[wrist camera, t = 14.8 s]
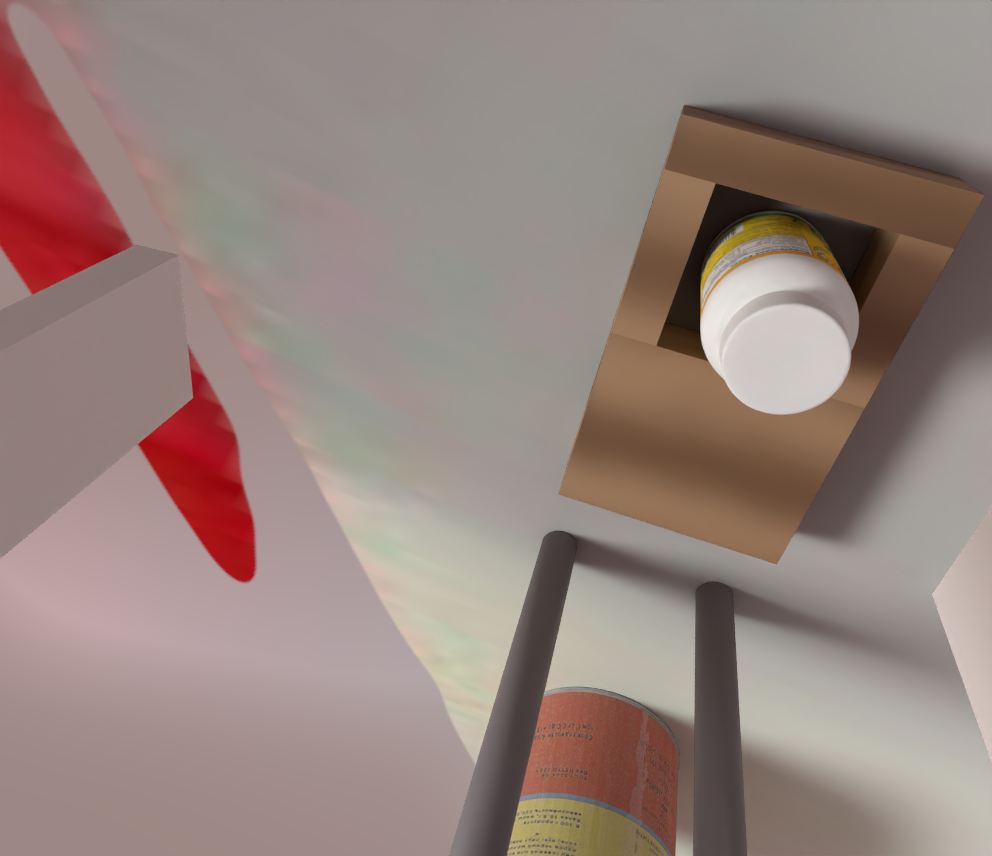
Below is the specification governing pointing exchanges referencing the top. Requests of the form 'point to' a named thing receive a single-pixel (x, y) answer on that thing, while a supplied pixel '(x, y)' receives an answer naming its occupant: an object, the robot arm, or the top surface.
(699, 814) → the grey l-shaped post
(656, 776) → the canned food
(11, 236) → the top surface
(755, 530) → the socket block
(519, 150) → the top surface
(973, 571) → the robot arm
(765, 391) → the supplement bottle
